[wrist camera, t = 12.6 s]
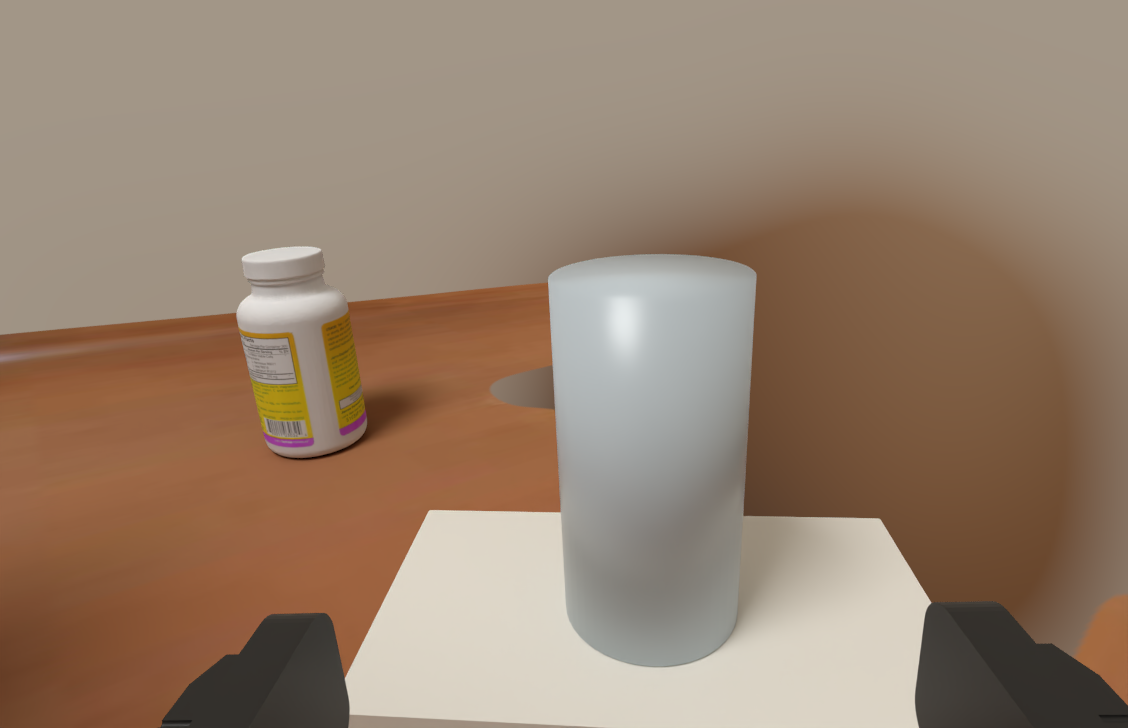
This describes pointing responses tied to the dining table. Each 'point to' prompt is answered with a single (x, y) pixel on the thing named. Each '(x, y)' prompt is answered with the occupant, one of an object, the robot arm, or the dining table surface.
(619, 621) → the white rounded cylinder
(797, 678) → the white riser stand
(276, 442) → the supplement bottle
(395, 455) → the dining table surface
